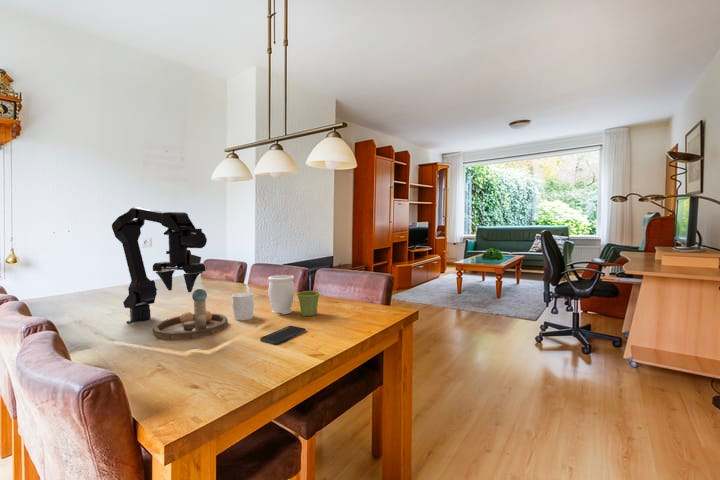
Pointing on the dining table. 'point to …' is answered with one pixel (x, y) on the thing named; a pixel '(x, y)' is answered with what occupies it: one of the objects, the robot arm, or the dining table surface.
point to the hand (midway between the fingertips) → (179, 291)
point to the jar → (281, 293)
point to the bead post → (199, 309)
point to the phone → (282, 335)
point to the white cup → (243, 305)
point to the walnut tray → (188, 328)
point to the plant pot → (308, 302)
